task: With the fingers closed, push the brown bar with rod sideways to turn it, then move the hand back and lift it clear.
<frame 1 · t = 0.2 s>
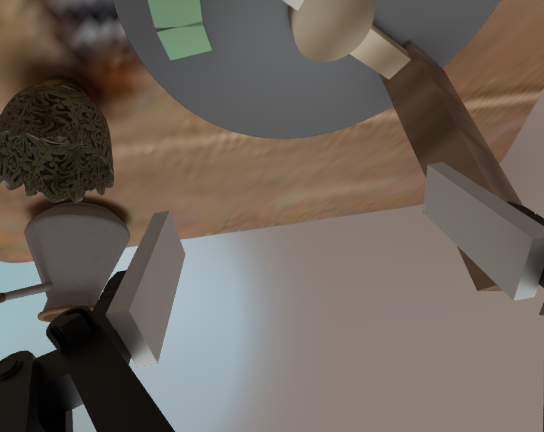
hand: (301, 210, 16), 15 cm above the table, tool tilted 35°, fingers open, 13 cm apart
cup: (66, 89, 25), on the table
brown bar with rod: (376, 115, 17), point 11 cm above the table, hinge at 0.0°
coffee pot: (44, 200, 38), on the table
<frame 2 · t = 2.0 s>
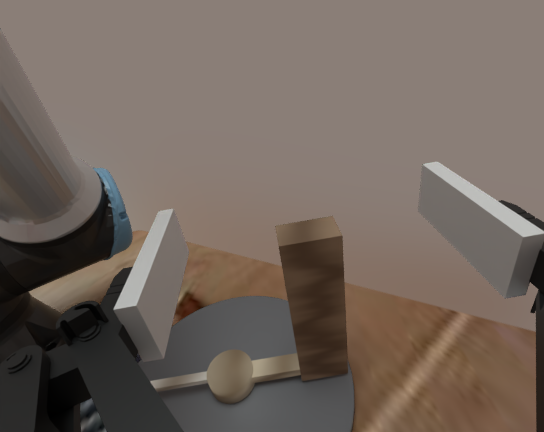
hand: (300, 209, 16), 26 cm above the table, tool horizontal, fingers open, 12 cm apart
brown bar with rod: (221, 324, 31), point 11 cm above the table, hinge at 0.0°
dial plate: (236, 389, 36), on the table
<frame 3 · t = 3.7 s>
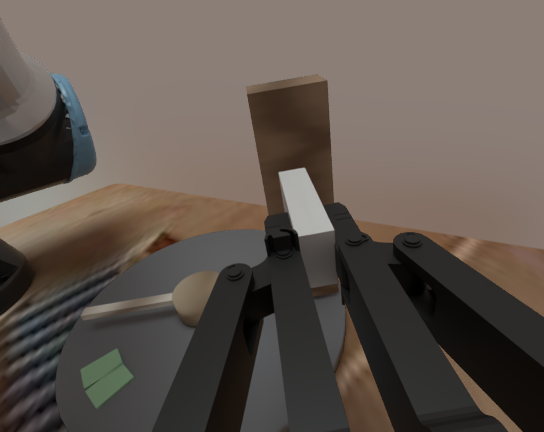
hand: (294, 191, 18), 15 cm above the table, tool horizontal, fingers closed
brown bar with rod: (185, 223, 26), point 11 cm above the table, hinge at 0.0°
dial plate: (209, 317, 31), on the table
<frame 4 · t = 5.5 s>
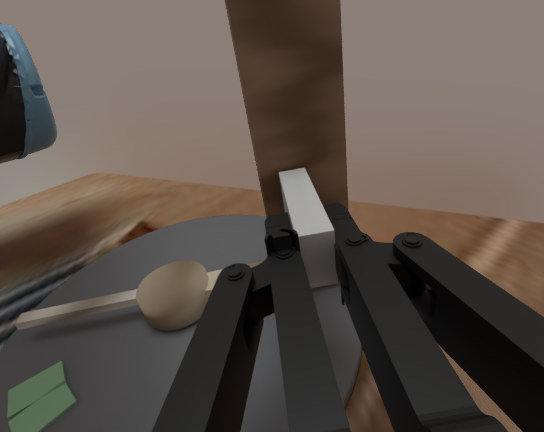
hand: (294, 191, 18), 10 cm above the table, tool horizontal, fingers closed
brown bar with rod: (147, 191, 19), point 11 cm above the table, hinge at 2.4°, touching gripper
dial plate: (187, 319, 24), on the table
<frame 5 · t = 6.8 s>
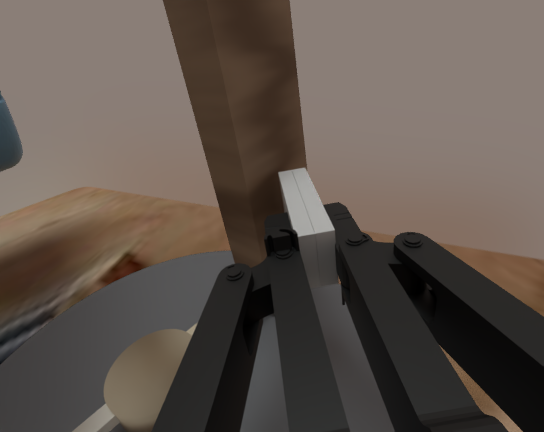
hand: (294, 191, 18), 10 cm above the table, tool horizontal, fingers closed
brown bar with rod: (112, 254, 14), point 11 cm above the table, hinge at 42.5°, touching gripper
dial plate: (175, 407, 19), on the table
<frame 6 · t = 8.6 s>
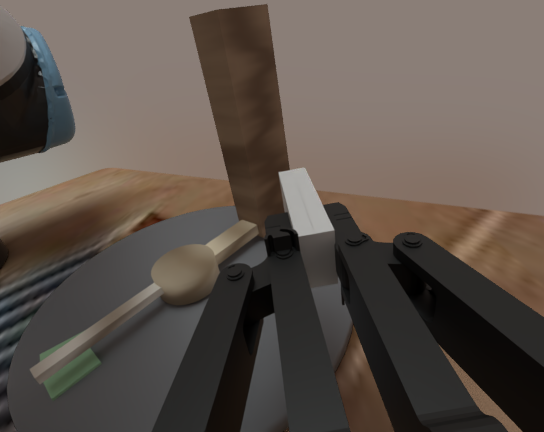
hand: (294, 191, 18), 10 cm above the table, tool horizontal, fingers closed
brown bar with rod: (161, 177, 22), point 11 cm above the table, hinge at 45.2°
dial plate: (196, 297, 27), on the table
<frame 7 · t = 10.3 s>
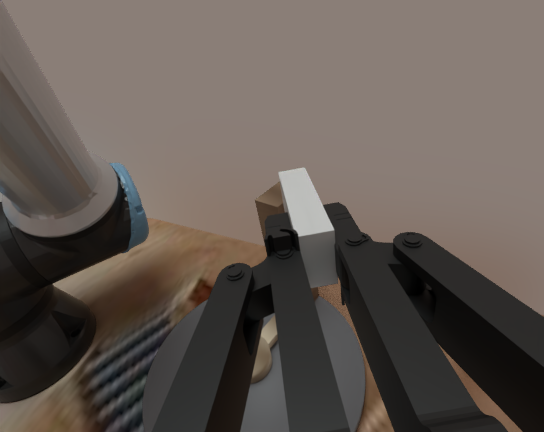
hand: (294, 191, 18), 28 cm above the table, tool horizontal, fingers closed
brown bar with rod: (239, 308, 33), point 11 cm above the table, hinge at 45.2°
dial plate: (254, 370, 39), on the table
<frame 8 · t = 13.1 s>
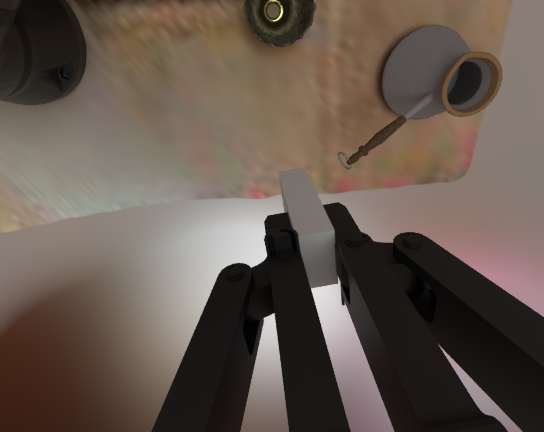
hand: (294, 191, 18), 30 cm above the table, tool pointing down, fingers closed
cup: (273, 10, 40), on the table
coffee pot: (381, 91, 46), on the table
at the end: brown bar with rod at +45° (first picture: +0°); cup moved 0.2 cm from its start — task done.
